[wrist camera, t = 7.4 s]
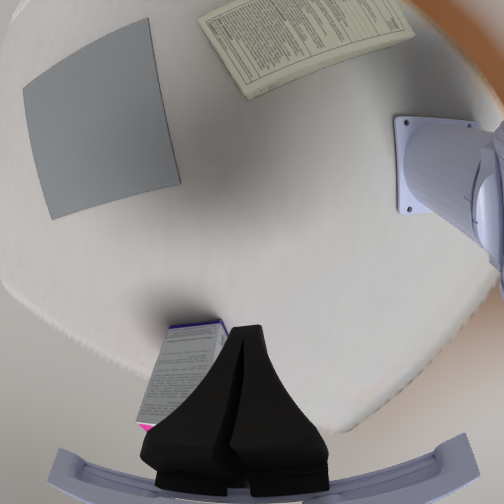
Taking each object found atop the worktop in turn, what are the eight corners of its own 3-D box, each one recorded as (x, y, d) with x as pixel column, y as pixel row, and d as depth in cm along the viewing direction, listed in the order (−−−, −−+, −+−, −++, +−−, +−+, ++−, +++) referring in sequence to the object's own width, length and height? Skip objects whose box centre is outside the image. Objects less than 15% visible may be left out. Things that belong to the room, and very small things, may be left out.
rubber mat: (148, 18, 14) (147, 17, 13) (181, 183, 20) (180, 183, 20) (23, 88, 15) (22, 88, 15) (53, 219, 21) (52, 220, 21)
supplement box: (167, 325, 26) (132, 421, 16) (222, 317, 25) (204, 425, 15) (188, 362, 29) (167, 451, 19) (238, 357, 28) (230, 454, 18)
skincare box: (246, 103, 17) (390, 50, 14) (243, 97, 13) (419, 39, 10) (205, 34, 15) (350, -14, 12) (191, 14, 11) (370, -37, 8)
